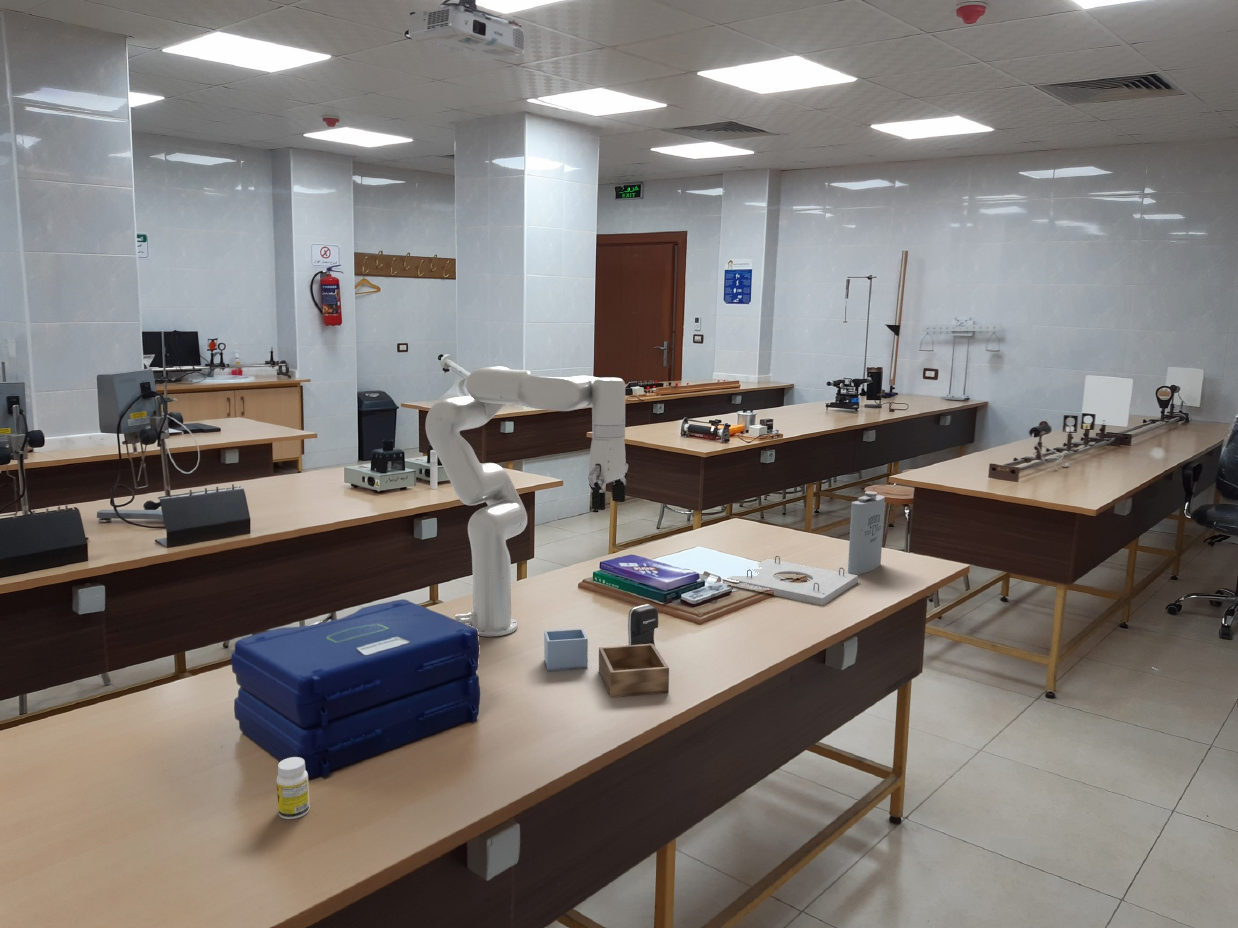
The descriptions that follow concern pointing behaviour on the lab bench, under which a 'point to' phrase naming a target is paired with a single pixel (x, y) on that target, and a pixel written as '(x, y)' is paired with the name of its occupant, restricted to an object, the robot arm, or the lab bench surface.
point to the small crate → (565, 649)
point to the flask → (866, 533)
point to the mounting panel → (815, 590)
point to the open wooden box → (633, 670)
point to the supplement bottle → (292, 788)
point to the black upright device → (642, 624)
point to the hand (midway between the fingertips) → (608, 505)
